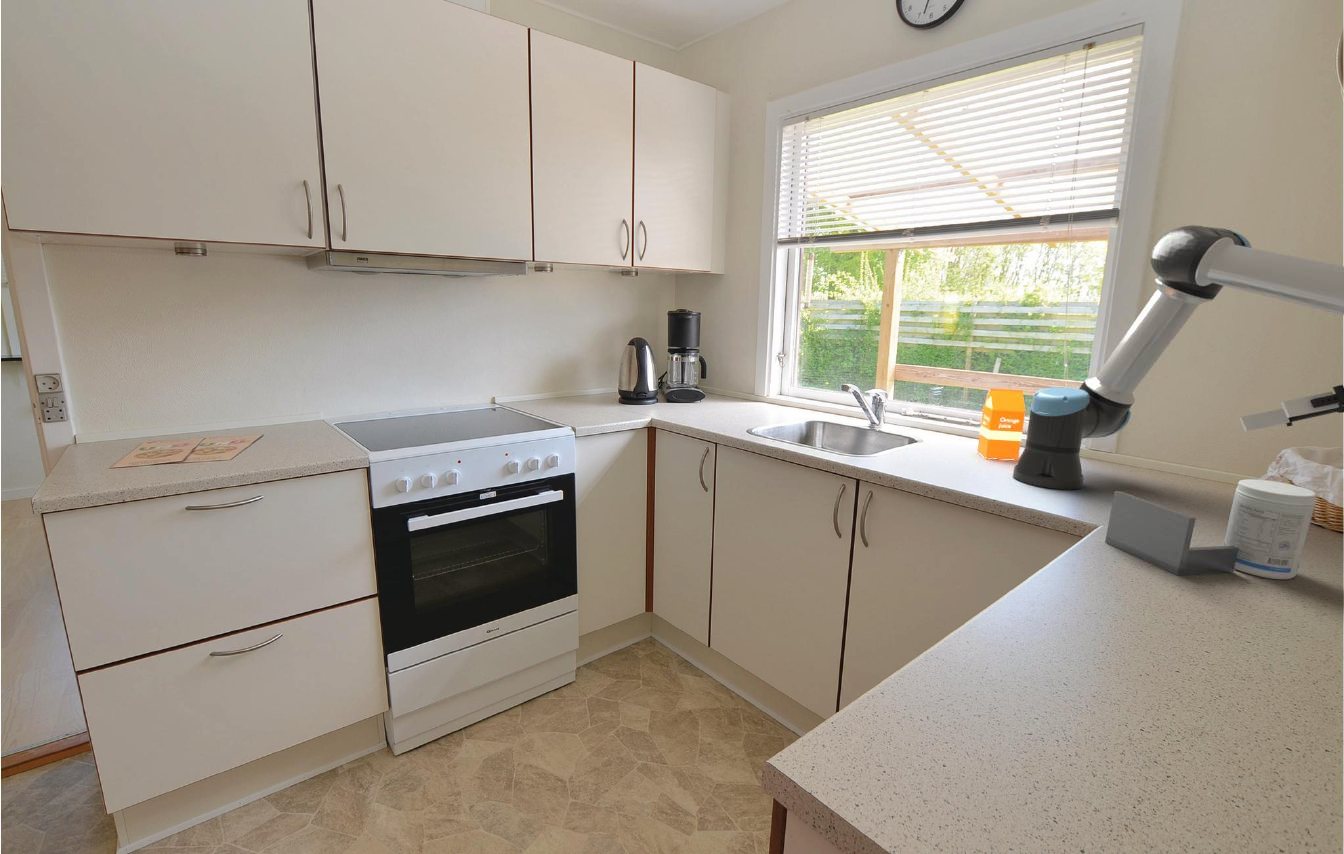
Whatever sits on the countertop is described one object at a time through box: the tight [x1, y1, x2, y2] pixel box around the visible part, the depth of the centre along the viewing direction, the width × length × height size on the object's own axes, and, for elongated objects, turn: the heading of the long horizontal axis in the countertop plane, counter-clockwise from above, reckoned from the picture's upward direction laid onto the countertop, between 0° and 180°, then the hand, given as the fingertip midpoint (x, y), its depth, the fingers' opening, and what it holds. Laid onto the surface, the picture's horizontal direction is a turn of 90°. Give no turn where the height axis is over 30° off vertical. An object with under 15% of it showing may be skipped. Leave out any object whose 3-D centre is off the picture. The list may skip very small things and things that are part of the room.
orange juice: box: [977, 388, 1026, 461], centre depth 174 cm, size 8×9×20 cm
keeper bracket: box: [1104, 490, 1239, 576], centre depth 106 cm, size 14×11×10 cm
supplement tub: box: [1222, 478, 1317, 580], centre depth 101 cm, size 10×10×15 cm
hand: (1262, 417), depth 107 cm, fingers open, 13 cm apart
